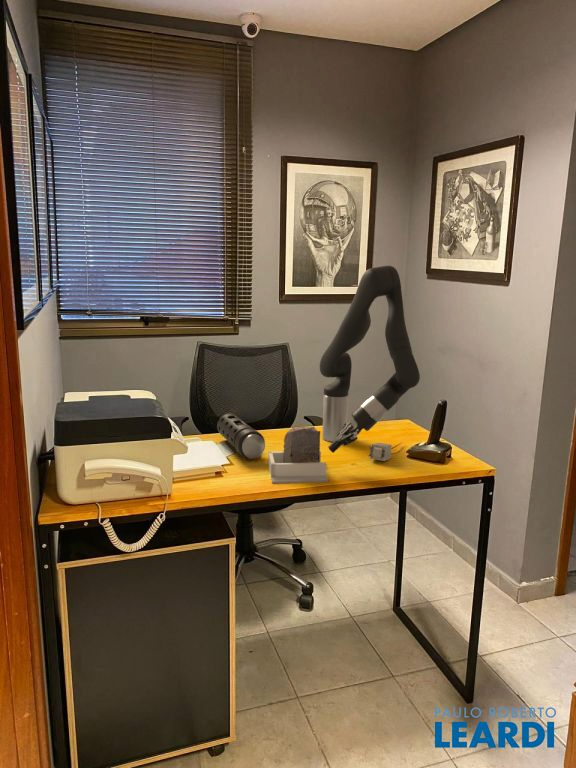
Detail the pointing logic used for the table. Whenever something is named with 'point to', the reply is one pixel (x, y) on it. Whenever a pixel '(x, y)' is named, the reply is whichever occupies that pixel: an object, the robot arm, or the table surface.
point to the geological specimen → (302, 445)
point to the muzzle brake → (241, 436)
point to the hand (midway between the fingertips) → (330, 450)
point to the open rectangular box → (295, 470)
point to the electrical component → (381, 451)
